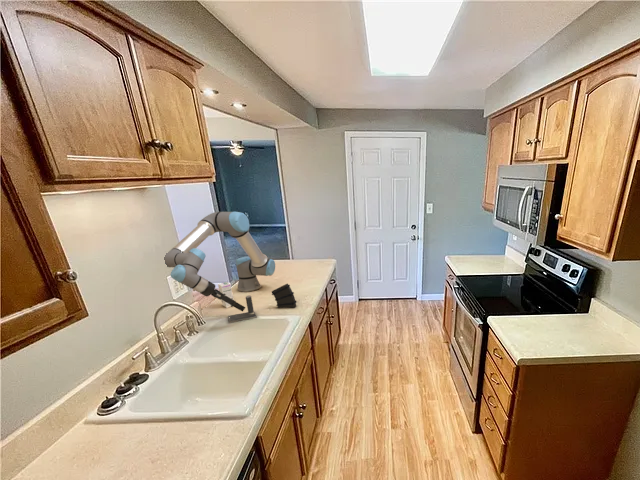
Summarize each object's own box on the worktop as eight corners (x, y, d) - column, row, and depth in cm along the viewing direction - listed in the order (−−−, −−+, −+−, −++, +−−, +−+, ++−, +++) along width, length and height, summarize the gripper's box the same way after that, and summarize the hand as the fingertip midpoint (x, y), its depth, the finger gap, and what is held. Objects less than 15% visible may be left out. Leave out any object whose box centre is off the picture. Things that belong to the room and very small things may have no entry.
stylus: (248, 313, 191) (245, 295, 187) (253, 312, 192) (250, 294, 189) (248, 315, 188) (245, 297, 185) (254, 314, 190) (251, 296, 186)
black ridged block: (299, 305, 201) (286, 284, 196) (281, 314, 203) (267, 293, 199) (301, 303, 205) (288, 282, 200) (283, 311, 207) (270, 291, 202)
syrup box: (235, 305, 206) (231, 283, 201) (225, 308, 202) (221, 285, 197) (231, 303, 210) (227, 281, 205) (222, 305, 206) (217, 283, 201)
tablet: (228, 317, 189) (227, 315, 188) (254, 312, 195) (253, 310, 195) (229, 323, 182) (229, 321, 181) (256, 317, 188) (256, 315, 188)
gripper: (192, 287, 176) (226, 306, 191) (207, 298, 160) (244, 318, 175) (200, 276, 178) (234, 295, 193) (217, 285, 162) (252, 306, 177)
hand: (239, 306), depth 184 cm, fingers open, 13 cm apart
